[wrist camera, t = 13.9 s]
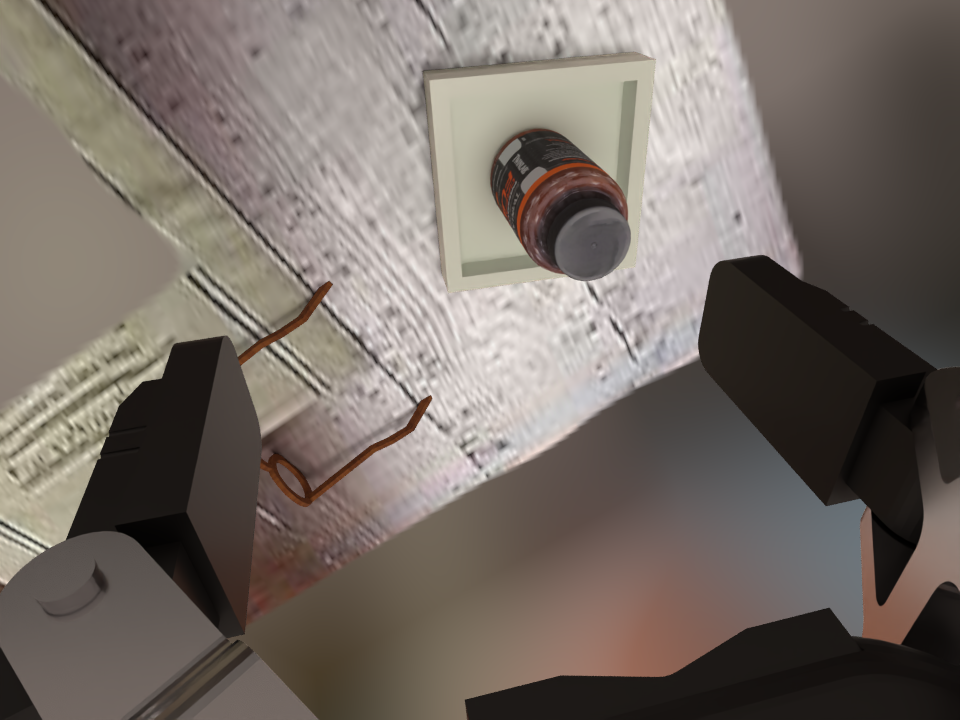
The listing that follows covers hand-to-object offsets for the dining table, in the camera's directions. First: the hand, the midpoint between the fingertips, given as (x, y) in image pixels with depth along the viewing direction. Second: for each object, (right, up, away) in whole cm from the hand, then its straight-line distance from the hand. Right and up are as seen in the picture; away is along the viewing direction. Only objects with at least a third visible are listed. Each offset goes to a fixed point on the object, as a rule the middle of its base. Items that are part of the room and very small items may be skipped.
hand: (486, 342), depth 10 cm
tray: (+3, +12, +30) cm, 33 cm away
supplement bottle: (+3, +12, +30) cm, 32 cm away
